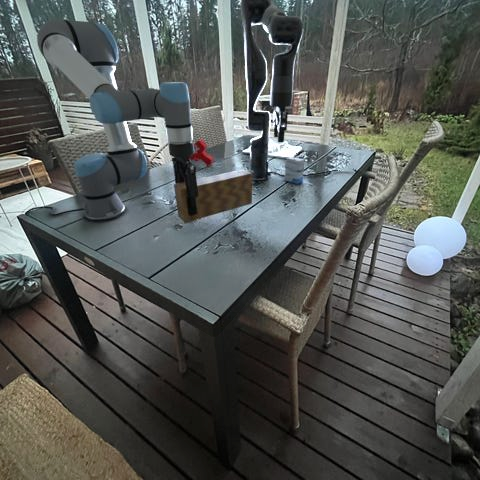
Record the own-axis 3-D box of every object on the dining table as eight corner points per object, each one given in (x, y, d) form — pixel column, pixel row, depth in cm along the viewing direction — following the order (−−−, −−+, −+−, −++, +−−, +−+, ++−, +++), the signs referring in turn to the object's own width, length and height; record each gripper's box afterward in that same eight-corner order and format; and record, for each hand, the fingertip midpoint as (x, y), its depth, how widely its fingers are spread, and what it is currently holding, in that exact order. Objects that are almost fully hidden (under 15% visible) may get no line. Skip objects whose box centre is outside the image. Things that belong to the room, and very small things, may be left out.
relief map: (291, 159, 177) (291, 151, 174) (243, 153, 190) (243, 145, 187) (302, 149, 197) (303, 142, 194) (258, 144, 211) (258, 137, 208)
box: (243, 198, 109) (243, 168, 102) (251, 203, 104) (252, 173, 98) (178, 216, 96) (173, 183, 90) (184, 223, 92) (180, 189, 85)
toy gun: (217, 159, 165) (202, 138, 161) (214, 161, 162) (199, 139, 158) (197, 174, 175) (183, 155, 171) (194, 176, 172) (179, 156, 168)
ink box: (302, 181, 142) (305, 159, 136) (297, 184, 139) (300, 161, 133) (289, 177, 147) (291, 156, 141) (284, 180, 144) (285, 158, 138)
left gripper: (206, 146, 76) (211, 218, 89) (180, 134, 90) (187, 198, 102) (181, 150, 73) (190, 224, 85) (158, 137, 86) (168, 203, 99)
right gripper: (297, 92, 88) (292, 143, 96) (288, 89, 99) (284, 135, 108) (274, 92, 87) (271, 144, 96) (267, 89, 99) (265, 135, 108)
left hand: (188, 210), depth 94 cm, fingers closed on box, 6 cm apart
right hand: (278, 139), depth 102 cm, fingers open, 8 cm apart
